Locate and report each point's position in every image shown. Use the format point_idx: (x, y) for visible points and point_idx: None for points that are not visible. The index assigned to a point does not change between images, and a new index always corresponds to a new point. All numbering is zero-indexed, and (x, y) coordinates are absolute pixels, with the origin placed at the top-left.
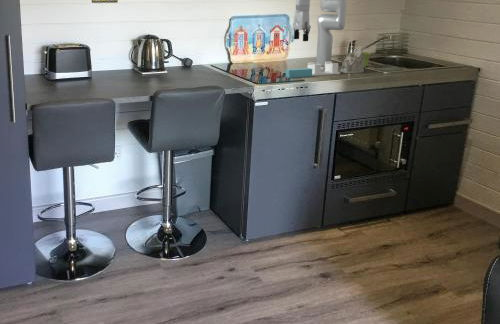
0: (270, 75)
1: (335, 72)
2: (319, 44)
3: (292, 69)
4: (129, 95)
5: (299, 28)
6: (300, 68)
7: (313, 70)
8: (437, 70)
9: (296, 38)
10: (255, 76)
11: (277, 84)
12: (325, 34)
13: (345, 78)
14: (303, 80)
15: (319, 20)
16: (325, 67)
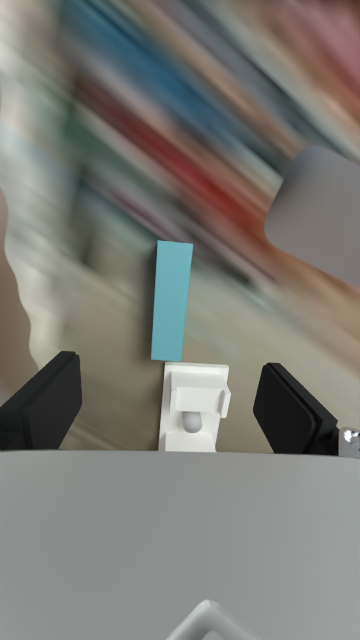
0: (242, 196)
1: (159, 440)
2: None
3: (173, 270)
4: None
5: (29, 473)
6: (182, 321)
7: (180, 376)
8: None
9: (261, 387)
10: (255, 100)
11: (27, 73)
12: None
13: (81, 422)
14: (89, 266)
15: None
16: (209, 441)
